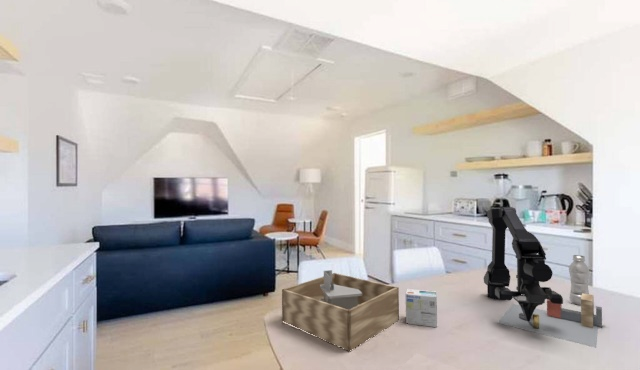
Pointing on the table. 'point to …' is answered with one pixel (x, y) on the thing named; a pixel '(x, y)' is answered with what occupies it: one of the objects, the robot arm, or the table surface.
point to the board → (552, 326)
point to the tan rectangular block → (587, 310)
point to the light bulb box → (421, 307)
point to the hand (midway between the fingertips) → (527, 320)
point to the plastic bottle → (578, 279)
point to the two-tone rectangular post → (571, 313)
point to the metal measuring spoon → (533, 321)
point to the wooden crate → (341, 310)
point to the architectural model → (339, 293)
